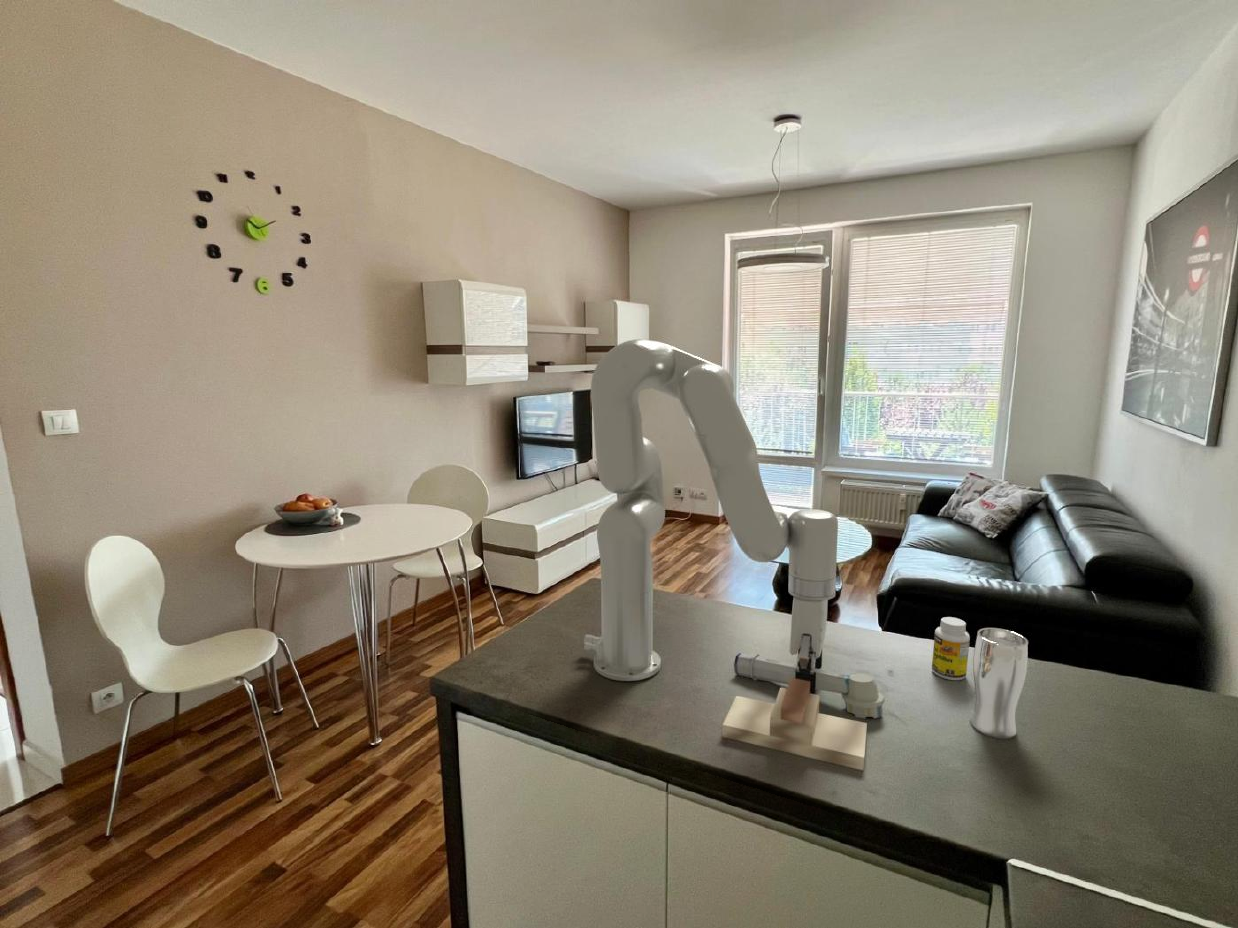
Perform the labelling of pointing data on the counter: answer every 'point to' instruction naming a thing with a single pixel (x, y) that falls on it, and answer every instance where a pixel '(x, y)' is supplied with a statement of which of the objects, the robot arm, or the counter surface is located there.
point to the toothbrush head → (817, 682)
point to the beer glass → (998, 680)
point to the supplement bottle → (951, 649)
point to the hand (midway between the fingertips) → (808, 679)
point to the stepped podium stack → (797, 727)
